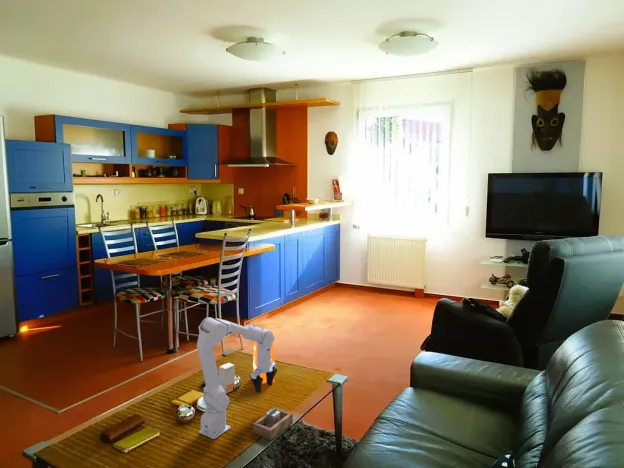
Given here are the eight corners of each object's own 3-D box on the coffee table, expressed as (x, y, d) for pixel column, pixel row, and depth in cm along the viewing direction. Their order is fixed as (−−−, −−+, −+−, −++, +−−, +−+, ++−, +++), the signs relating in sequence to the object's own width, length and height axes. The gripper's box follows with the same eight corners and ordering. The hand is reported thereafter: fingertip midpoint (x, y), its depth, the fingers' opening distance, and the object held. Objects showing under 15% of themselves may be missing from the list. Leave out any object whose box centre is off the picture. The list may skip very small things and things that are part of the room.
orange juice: (252, 377, 227) (253, 337, 224) (270, 375, 229) (271, 335, 226) (255, 384, 219) (256, 343, 216) (274, 382, 222) (274, 341, 219)
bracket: (273, 430, 181) (274, 413, 179) (265, 427, 183) (265, 410, 182) (279, 426, 184) (280, 408, 183) (271, 422, 186) (271, 406, 185)
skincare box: (225, 394, 209) (224, 369, 207) (218, 391, 211) (218, 366, 210) (235, 389, 214) (235, 364, 212) (228, 386, 216) (228, 362, 214)
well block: (270, 440, 175) (270, 430, 174) (252, 433, 179) (252, 423, 179) (292, 423, 187) (292, 413, 187) (275, 416, 192) (275, 407, 191)
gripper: (260, 366, 185) (260, 398, 187) (282, 354, 197) (281, 384, 199) (247, 361, 189) (246, 393, 191) (268, 350, 201) (268, 380, 203)
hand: (263, 388), depth 195 cm, fingers open, 7 cm apart
